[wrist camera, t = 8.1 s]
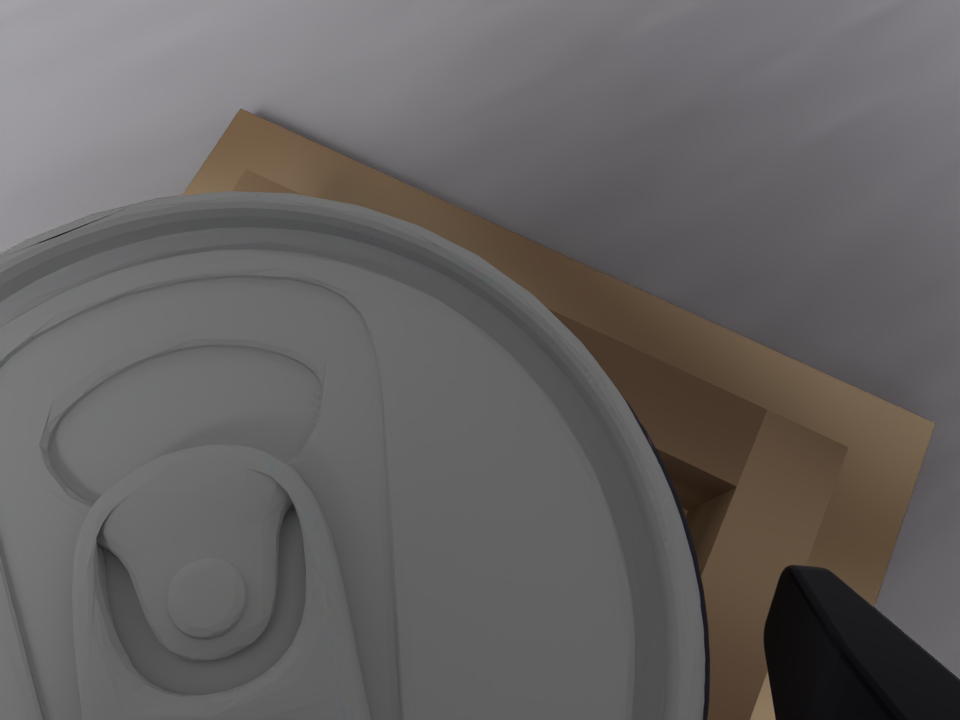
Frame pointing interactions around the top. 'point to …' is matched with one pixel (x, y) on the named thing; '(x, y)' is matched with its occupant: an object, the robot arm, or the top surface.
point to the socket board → (673, 409)
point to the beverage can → (321, 483)
